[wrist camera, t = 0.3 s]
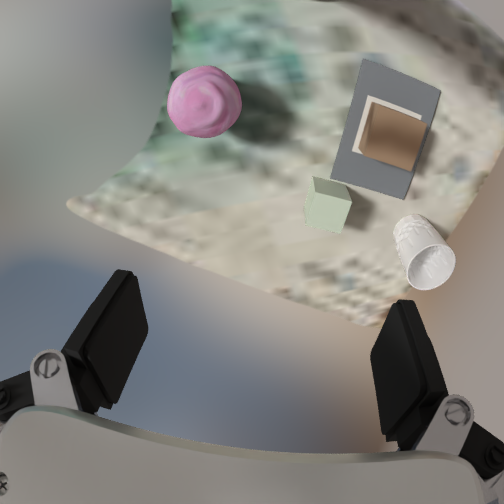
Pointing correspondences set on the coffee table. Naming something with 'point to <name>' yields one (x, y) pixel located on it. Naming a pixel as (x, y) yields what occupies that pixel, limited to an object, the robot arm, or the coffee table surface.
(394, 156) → the walnut base block
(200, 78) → the cupcake
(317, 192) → the sage cube
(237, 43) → the coffee table surface
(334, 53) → the coffee table surface
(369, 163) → the mat
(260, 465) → the robot arm
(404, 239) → the white cup
